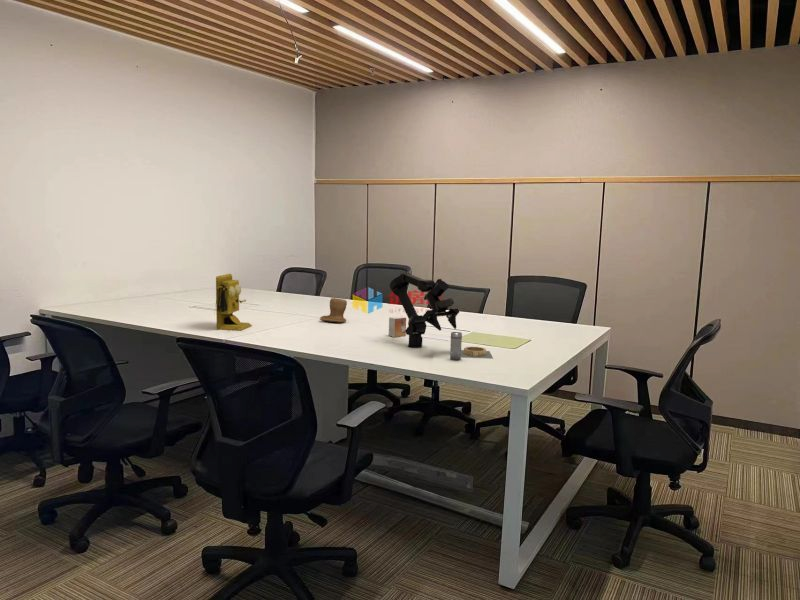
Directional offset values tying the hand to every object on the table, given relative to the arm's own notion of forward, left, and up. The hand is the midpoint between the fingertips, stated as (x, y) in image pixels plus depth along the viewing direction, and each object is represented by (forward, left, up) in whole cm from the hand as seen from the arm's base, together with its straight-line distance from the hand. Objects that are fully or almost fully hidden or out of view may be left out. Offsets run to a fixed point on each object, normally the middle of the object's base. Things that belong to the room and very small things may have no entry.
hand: (448, 329), depth 281 cm
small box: (-26, +46, -13) cm, 54 cm away
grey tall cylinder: (+3, -7, -13) cm, 16 cm away
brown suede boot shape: (-66, +84, -13) cm, 107 cm away
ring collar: (+13, +5, -13) cm, 19 cm away
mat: (+13, +5, -13) cm, 19 cm away
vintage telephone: (-119, +53, -13) cm, 130 cm away
